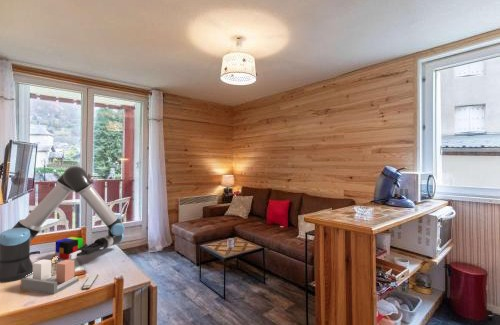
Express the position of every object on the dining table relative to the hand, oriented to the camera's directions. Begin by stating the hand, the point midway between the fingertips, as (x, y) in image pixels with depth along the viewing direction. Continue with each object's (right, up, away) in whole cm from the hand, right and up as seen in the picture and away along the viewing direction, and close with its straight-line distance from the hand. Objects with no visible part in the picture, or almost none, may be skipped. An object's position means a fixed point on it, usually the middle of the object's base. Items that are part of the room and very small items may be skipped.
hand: (70, 256), depth 136 cm
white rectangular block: (-4, -6, -13) cm, 15 cm away
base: (+1, -8, -15) cm, 17 cm away
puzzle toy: (-17, -8, +23) cm, 29 cm away
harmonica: (+18, -9, -11) cm, 23 cm away
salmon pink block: (+7, -7, -13) cm, 16 cm away
